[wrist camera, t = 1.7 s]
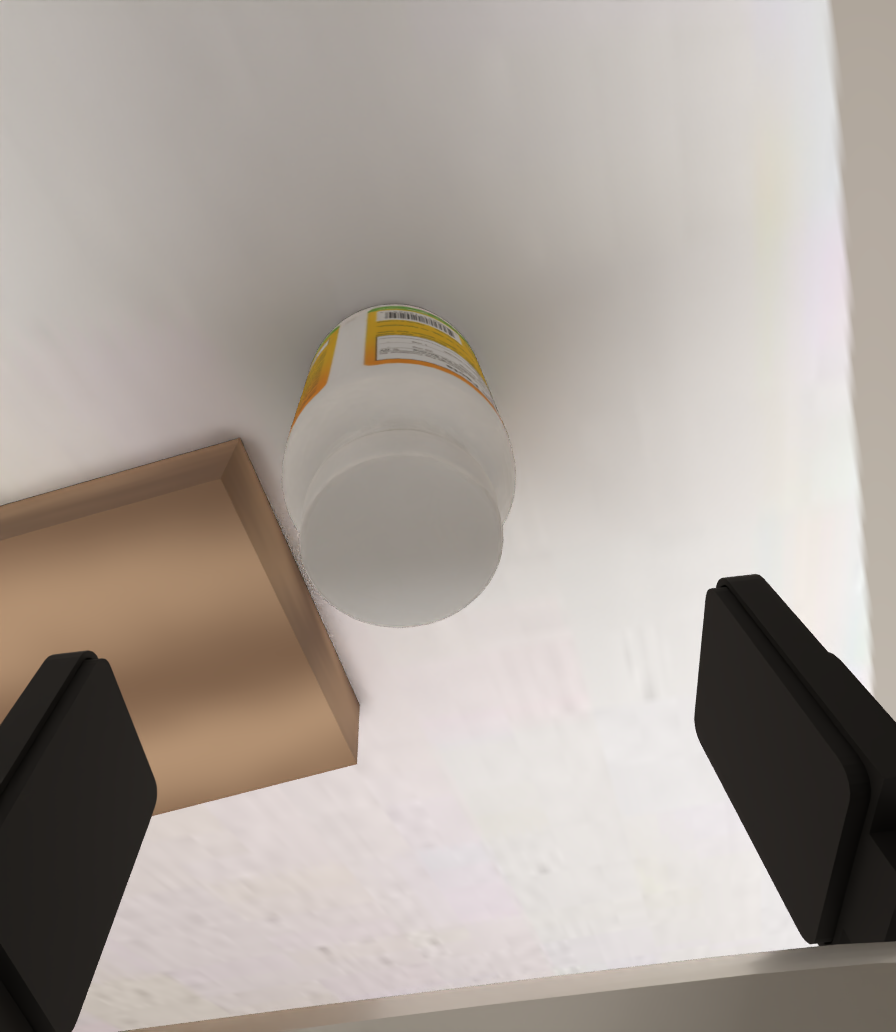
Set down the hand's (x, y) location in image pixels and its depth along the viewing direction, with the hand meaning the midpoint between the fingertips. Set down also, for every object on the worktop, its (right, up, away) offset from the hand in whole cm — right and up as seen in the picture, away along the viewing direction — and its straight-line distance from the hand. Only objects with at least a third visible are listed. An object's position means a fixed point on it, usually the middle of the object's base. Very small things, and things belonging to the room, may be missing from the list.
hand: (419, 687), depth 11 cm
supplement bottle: (-1, +7, +11) cm, 13 cm away
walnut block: (-10, -1, +15) cm, 18 cm away
